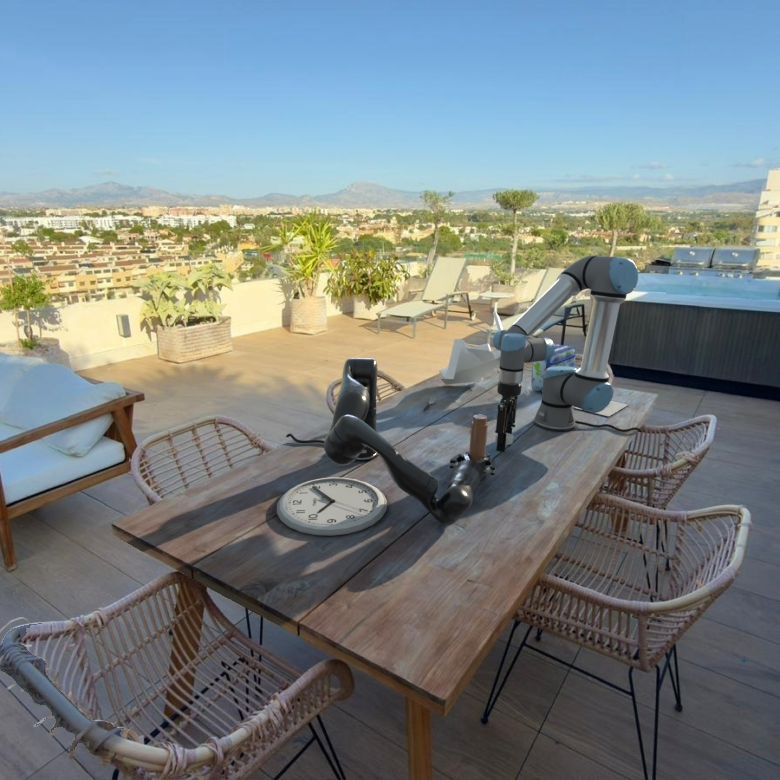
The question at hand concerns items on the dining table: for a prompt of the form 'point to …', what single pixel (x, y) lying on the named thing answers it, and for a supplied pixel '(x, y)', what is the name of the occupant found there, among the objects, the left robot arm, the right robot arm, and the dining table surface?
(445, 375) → the white plastic object
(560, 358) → the lunch box
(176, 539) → the dining table surface
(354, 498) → the wall clock
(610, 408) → the invitation card
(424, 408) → the fork
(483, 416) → the brown tube
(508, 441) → the lid
